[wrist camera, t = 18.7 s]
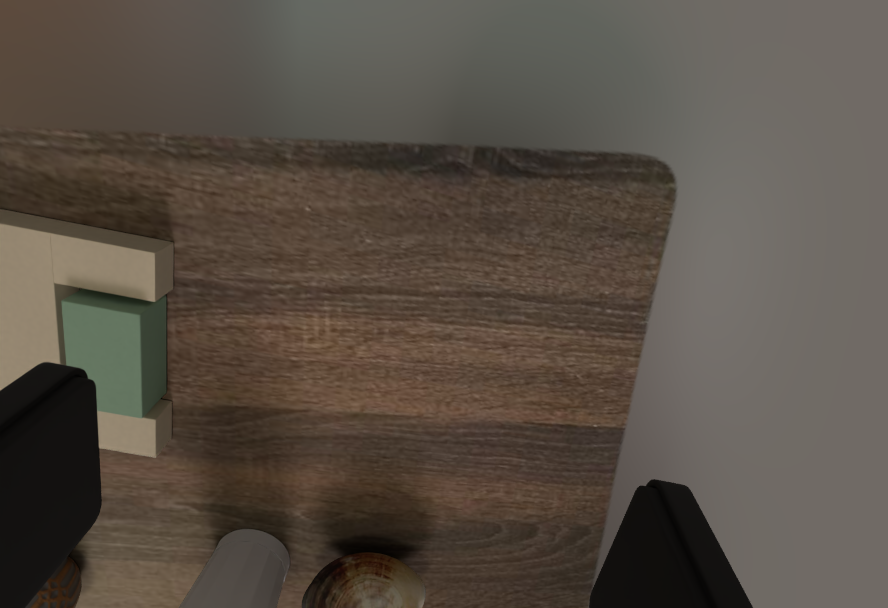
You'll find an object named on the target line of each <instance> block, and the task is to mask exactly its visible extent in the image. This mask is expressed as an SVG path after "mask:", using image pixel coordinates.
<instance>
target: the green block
mask: <svg viewBox="0 0 888 608" xmlns="http://www.w3.org/2000/svg"><path fill="white" fill-rule="evenodd" d="M61 304H62V317H63V330H64V342H65V355H66V365H67V366H72V367H77V368H81V369H83V370H85V372H86V373H87V376H88V379H91V380H93V381H94V382H95V385H96V396H97V411H101V412H107V413H113V414H119V415H124V416H130V417H136V418H143V417H144V416H145V415H146V414H147V413H148V412H149V411H150V409H151V408H152V407H153V406H154V405H155V404H156V403H157V402H158V401H159V400H160V399H161V398H162V397H163V396H164V395H165V394H166V392H167V389H166V295H164V296H162V297H161V298H160V299H158V300H157V301H156V302H153V301H147V300H142V299H137V298H131V297H126V296H121V295H115V294H110V293H105V292H99V291H94V290H89V289H84V288H83V289H81V290H79V291H78V292H76V293H74V294H72V295H70V296H69V297H67V298H65V299H63V300H62V301H61Z"/></svg>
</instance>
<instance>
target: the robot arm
mask: <svg viewBox="0 0 888 608" xmlns="http://www.w3.org/2000/svg"><path fill="white" fill-rule="evenodd" d="M101 502H102V499H101V478H100V458H99V437H98V416H97V396H96V385H95V382H94V381H93V380H91V379H88V376H87V373H86V372H85V370H83V369H81V368H77V367H72V366H67V365H61V364H56V363H51V362H43V363H40V364H38V365H37V366H35V367H34V368H32V369H31V370H29V371H28V372H26V373H25V374H24V375H22V376H21V377H19V378H18V379H16V380H15V381H13V382H12V383H11V384H9V385H8V386H6V387H5V388H3V389H2V390H0V608H25V607H26V606H27V605H28V604H29V603H30V601H31V600H32V599H33V598H34V596H35V595H36V594H37V593H38V592H39V590H40V589H41V588H42V587H43V585H44V584H45V583H46V582H47V581H48V579H49V578H50V577H51V576H52V574H53V573H54V572H55V571H56V570H57V568H58V567H59V566H60V565H61V563H62V562H63V561H64V560H65V559H66V557H67V556H68V555H69V554H70V552H71V551H72V550H73V549H74V548H75V546H76V545H77V544H78V543H79V541H80V540H81V539H82V538H83V537H84V535H85V534H86V533H87V532H88V530H89V529H90V528H91V527H92V525H93V524H94V523H95V521H96V519H97V517H98V515H99V512H100V509H101ZM589 608H753V607H752V605H751V603H750V601H749V599H748V597H747V596H746V594H745V592H744V590H743V588H742V586H741V584H740V582H739V580H738V579H737V577H736V575H735V573H734V571H733V569H732V567H731V565H730V564H729V562H728V560H727V558H726V556H725V554H724V552H723V550H722V548H721V547H720V545H719V543H718V541H717V539H716V537H715V535H714V533H713V532H712V530H711V528H710V526H709V524H708V522H707V520H706V518H705V516H704V515H703V513H702V511H701V509H700V507H699V505H698V503H697V502H696V499H695V498H694V496H693V494H692V492H691V490H690V489H689V488H688V487H687V486H685V485H681V484H676V483H671V482H666V481H661V480H655V479H654V480H651V481H649V482H648V484H647V485H646V486H639V487H638V488H637V490H636V491H635V493H634V496H633V498H632V500H631V502H630V505H629V507H628V510H627V512H626V514H625V516H624V518H623V521H622V523H621V525H620V528H619V530H618V532H617V535H616V537H615V539H614V541H613V544H612V546H611V548H610V551H609V553H608V555H607V557H606V560H605V562H604V564H603V567H602V569H601V571H600V574H599V576H598V578H597V580H596V583H595V585H594V587H593V590H592V592H591V596H590V603H589Z"/></svg>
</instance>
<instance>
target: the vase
mask: <svg viewBox="0 0 888 608" xmlns="http://www.w3.org/2000/svg"><path fill="white" fill-rule="evenodd" d="M80 592H81V575H80V571H79V569H78V566H77V564H76V563H75V562H74V561H73V560H72V559H71V558H70V557H69V556H67V557H66V559H65V560H64V561H63V562H62V563H61V565H60V566H59V567H58V568H57V570H56V571H55V572H54V573H53V574H52V576H51V577H50V578H49V579H48V581H47V582H46V583H45V584H44V585H43V587H42V588H41V589H40V590H39V592H38V593H37V594H36V595H35V596H34V598H33V599H32V600H31V601H30V603H29V604H28V605H27V606H26V607H25V608H75V606H76V604H77V602H78V599H79V596H80Z"/></svg>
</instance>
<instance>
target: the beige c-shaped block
mask: <svg viewBox="0 0 888 608" xmlns="http://www.w3.org/2000/svg"><path fill="white" fill-rule="evenodd" d="M173 264H174V242H170V241H164V240H159V239H154V238H149V237H144V236H138V235H133V234H128V233H123V232H118V231H113V230H107V229H102V228H97V227H92V226H87V225H81V224H75V223H71V222H66V221H60V220H55V219H50V218H45V217H40V216H34V215H29V214H24V213H19V212H14V211H8V210H3V209H0V390H2V389H3V388H5V387H6V386H8V385H9V384H11V383H12V382H13V381H15V380H16V379H18V378H19V377H21V376H22V375H24V374H25V373H26V372H28V371H29V370H31V369H32V368H34V367H35V366H37V365H38V364H40V363H43V362H51V363H56V364H61V365H66V355H65V342H64V330H63V317H62V304H61V301H62V300H63V299H65V298H67V297H69V296H70V295H72V294H74V293H76V292H78V291H79V288H84V289H89V290H94V291H99V292H105V293H110V294H115V295H121V296H126V297H131V298H137V299H142V300H147V301H153V302H156V301H157V300H158V299H160V298H161V297H162V296H164V295H165V294H167V293H168V292H169V291H171V290H172V289H173ZM97 416H98V437H99V448H103V449H109V450H114V451H120V452H126V453H131V454H137V455H143V456H148V457H154V458H156V457H157V455H158V454H159V453H160V452H161V450H162V449H163V448H164V447H165V445H166V444H167V443H168V442H169V441H170V439H171V438H172V401H168V400H162V399H160V400H159V401H158V402H157V403H156V404H155V405H154V406H153V407H152V408H151V409H150V411H149V412H148V413H147V414H146V415H145V416H144V417H143V418H136V417H130V416H124V415H119V414H113V413H107V412H101V411H97Z"/></svg>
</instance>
